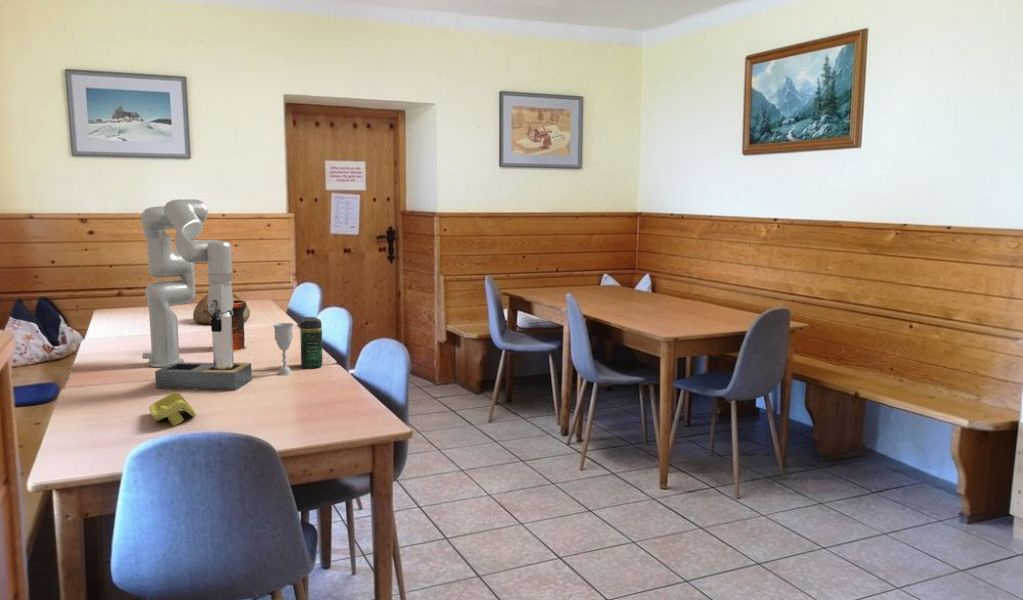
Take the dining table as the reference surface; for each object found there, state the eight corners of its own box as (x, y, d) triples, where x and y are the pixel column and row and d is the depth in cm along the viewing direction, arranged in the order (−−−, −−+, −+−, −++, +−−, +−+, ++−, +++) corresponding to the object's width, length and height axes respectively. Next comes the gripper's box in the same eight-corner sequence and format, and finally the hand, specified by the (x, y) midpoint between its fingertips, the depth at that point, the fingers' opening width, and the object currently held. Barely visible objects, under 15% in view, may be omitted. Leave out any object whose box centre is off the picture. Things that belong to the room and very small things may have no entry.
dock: (156, 388, 261) (155, 370, 260) (176, 379, 275) (175, 361, 274) (235, 390, 260) (234, 372, 259) (251, 380, 274) (251, 363, 273)
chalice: (299, 372, 286) (297, 323, 284) (287, 376, 280) (286, 326, 277) (281, 370, 289) (280, 322, 286) (270, 374, 282) (268, 325, 280)
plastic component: (148, 406, 232) (180, 388, 236) (161, 427, 234) (193, 408, 238) (152, 418, 215) (186, 398, 218) (166, 440, 216) (200, 420, 220)
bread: (184, 324, 387) (182, 294, 385) (211, 317, 409) (210, 289, 407) (233, 327, 381) (232, 296, 379) (257, 319, 404) (256, 290, 402)
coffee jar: (323, 368, 293) (322, 319, 291) (301, 369, 291) (300, 320, 288) (322, 362, 302) (320, 315, 300) (300, 364, 300) (299, 316, 298)
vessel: (203, 350, 324) (201, 302, 322) (227, 345, 337) (226, 298, 335) (230, 353, 319) (229, 304, 317) (254, 347, 332) (253, 300, 330)
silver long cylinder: (228, 387, 263) (224, 314, 260) (210, 386, 265) (207, 313, 261) (238, 383, 270) (235, 311, 266) (221, 381, 271) (218, 310, 267)
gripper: (220, 275, 271) (222, 324, 273) (197, 281, 254) (200, 333, 256) (241, 275, 270) (243, 324, 273) (220, 281, 253) (223, 333, 256)
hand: (222, 329), depth 264 cm, fingers open, 9 cm apart
